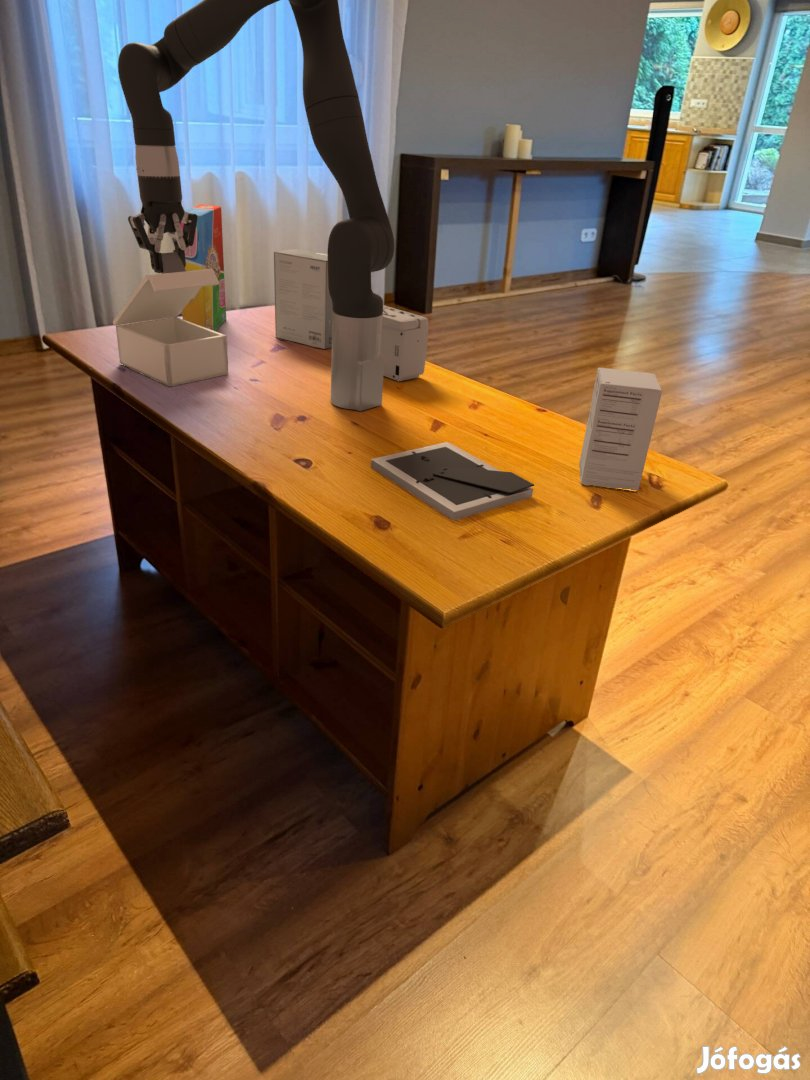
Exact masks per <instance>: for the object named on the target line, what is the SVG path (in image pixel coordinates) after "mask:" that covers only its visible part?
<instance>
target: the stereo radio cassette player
mask: <svg viewBox="0 0 810 1080" xmlns="http://www.w3.org/2000/svg"><path fill="white" fill-rule="evenodd" d="M428 336H429V319H428V318H427V317H425V316H422V315H418V314H415V313H412V312H408V311H405V310H401V309H397V308H395V307H392V306H387V305H384V304H383V319H382V337H381V356H383V357H384V375H383V377H386V378H388V379H391V380H394V381H398V382H399V381H400V382H401V381H407V380H411V379H417V378H419V377H420V375H421V376H422V375H424V373H425V367H426V361H427V351H428V338H429V337H428ZM398 382H397V383H398ZM400 382H399V383H400Z"/></svg>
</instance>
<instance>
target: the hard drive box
mask: <svg viewBox="0 0 810 1080" xmlns="http://www.w3.org/2000/svg"><path fill="white" fill-rule="evenodd" d="M273 268H274V269H273V271H274V273H273V274H274V275H273V276H274V277H273V278H274V280H273V281H274V320H275V321H274V323H275V329H274V330H275V338H278V339H282V340H285V341H288V342H293V343H298V344H300V345H301V344H303V345H306V346H309V347H312V348H318V349H321V350H326V349H327V350H328V349H330V348H332V315H333V304H332V300H331V297H330V294H329V288H328V253H321V252H315V251H308V250H301V249H295V248H292V249H290V248H289V249H285V250H278V251H274V252H273Z"/></svg>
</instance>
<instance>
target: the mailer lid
mask: <svg viewBox="0 0 810 1080" xmlns="http://www.w3.org/2000/svg"><path fill="white" fill-rule="evenodd" d="M160 253H161V254H162V263H163V273H156V274H148V275H145V276H144V277H143V279H142V280H141V281H140V283H139V285H138V286H137V287H136V289H135V290H134V291H133V293H132V294H131V295H130V297H129V298H128V299H127V301H126V302H125V304H124V305H123V307H122V308H121V309H120V311H119V312H118V314H117V315H116V316H115V318H114V319H113V321H112V324H113V326H115V327H116V326H117V325H123V324H130V323H137V322H144V321H151V320H157V319H164V318H171V317H178V316H179V314H180V313H182V310H183V309H184V307H185V306H186V305H187V304H188V303H189V301H190V300H191V299H192V298H193V297H194V295H195V294H196V293H197V292H198V291H199V289H200V288H201V287H203V286H211V285H218V284H219V281H218V279H217V277H216V275H215V272H214V270H213V269H204V270H194V271H186V270H185V268H184V265H183V263H182V261H181V259H180V257H179V255H178V252H173V251H172V252H160Z"/></svg>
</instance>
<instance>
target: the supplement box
mask: <svg viewBox="0 0 810 1080" xmlns="http://www.w3.org/2000/svg"><path fill="white" fill-rule="evenodd" d="M593 386H594V387H593V392H592V397H591V403H590V409H589V415H588V419H587V422H586V423H587V424H586V426H585V433H584V438H583V444H582V449H581V453H580V458H579V463H578V465H579V466H578V468H580V469H579V478H580V485H581V484H584V485H583V486H588V485H594V486H593V487H595V486H602V487H609V488H622V489H631V490H638V491H639V490H640V486H641V482H642V481H641V480H642V477H643V472H644V469H645V464H646V461H647V457H648V452H649V448H650V444H651V440H652V435H653V431H654V426H655V422H656V418H657V413H658V410H659V408H660V407H659V406H660V402H661V399H662V394H663V390H662V388H661V385H660V383H659V380H658V378H657V375H656V374H655V373H653V372H652V373H651V372H644V371H635V370H634V371H633V370H625V369H617V368H608V367H598V368H597V371H596V376H595V381H594V385H593ZM602 487H601V488H602ZM609 488H608V489H609Z"/></svg>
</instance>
